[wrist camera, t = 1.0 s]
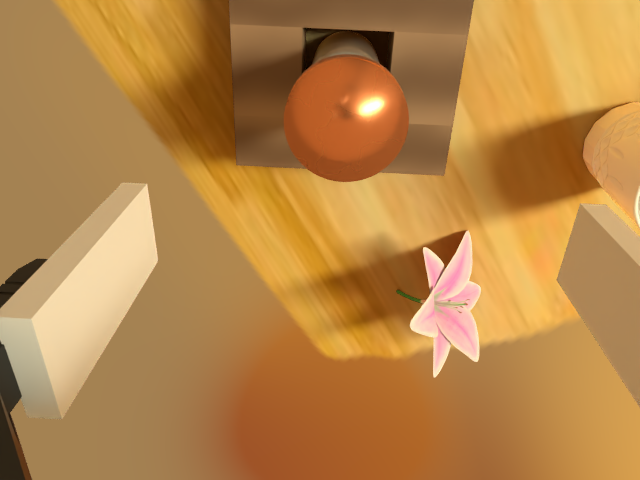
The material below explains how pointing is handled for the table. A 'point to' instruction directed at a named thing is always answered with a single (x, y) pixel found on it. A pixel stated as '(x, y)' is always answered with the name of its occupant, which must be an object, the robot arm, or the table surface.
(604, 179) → the white cup
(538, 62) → the table surface
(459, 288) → the lily
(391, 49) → the socket block
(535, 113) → the table surface
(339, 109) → the copper-capped cylinder
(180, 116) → the table surface
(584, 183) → the table surface
